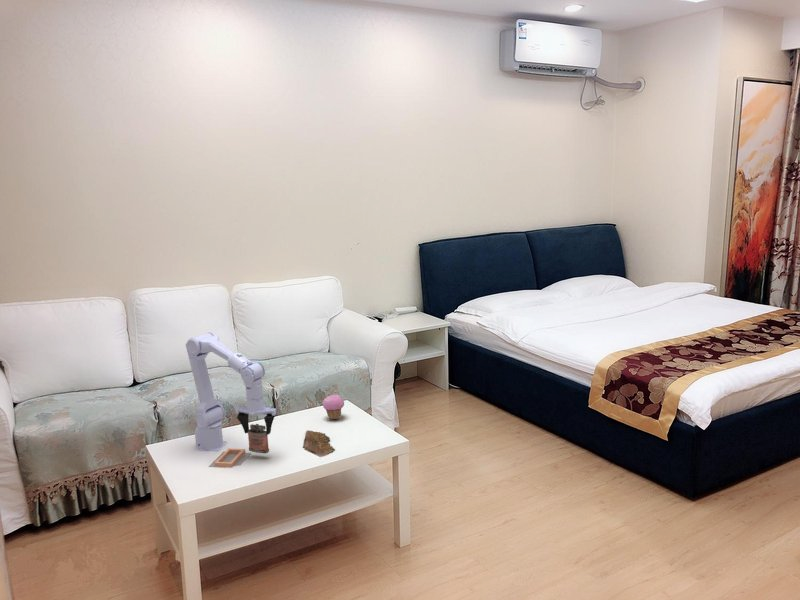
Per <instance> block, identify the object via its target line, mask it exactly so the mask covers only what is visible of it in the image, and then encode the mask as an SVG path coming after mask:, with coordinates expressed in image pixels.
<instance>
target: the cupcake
mask: <svg viewBox="0 0 800 600" xmlns="http://www.w3.org/2000/svg"><path fill="white" fill-rule="evenodd" d="M344 406H345V400H344V398H343V397H341V396H340V394H331V395H328V396H327V397H326V398H324V399H323V401H322V407H323V408H324V409H325V411H326V414H327V417H328V419H329V420H339V419H340V417H341V416H342V408H343V407H344Z"/></svg>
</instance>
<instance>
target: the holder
mask: <svg viewBox="0 0 800 600" xmlns="http://www.w3.org/2000/svg"><path fill="white" fill-rule="evenodd" d="M252 453H253V452H246V449H245V448H227V449H226V450H225V451H222V452H221V453H220V454H219V455H218V456H217V457H216V459H214V460H213V462H211V463H210V464H209V465H208V468H226V469H227V468H231V469H232V468H234V467H238V466H242V464H243V463H245V461H246V460H247V459H248V458H249V457H250V456H251V455H252Z"/></svg>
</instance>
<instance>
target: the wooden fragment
mask: <svg viewBox="0 0 800 600" xmlns="http://www.w3.org/2000/svg"><path fill="white" fill-rule="evenodd" d="M330 440H331V439H330V436H328V435H326V433H323V432H321V431H313V430H310V429H309V430H306V432H305V437H304V439H303V445H302V448H303V449H304V450H305V451H307V452H309V453H311V454H314V455H316V456H318V457H320V458H322V457H326V456H329V455H330V454H331V453H333V452H334V451H335V450H336V448H334V447H333V446H332V445H331V443H329V441H330Z"/></svg>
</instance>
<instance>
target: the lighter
mask: <svg viewBox="0 0 800 600" xmlns="http://www.w3.org/2000/svg"><path fill="white" fill-rule="evenodd" d="M247 432H248V433H247V437H248V451H250V453H256V454H269V453H270V448H269V437H268V434H267V433H266V425H262V424H258V423H256V424H253V423H252V424H250V425H249V430H248V431H247Z"/></svg>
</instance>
